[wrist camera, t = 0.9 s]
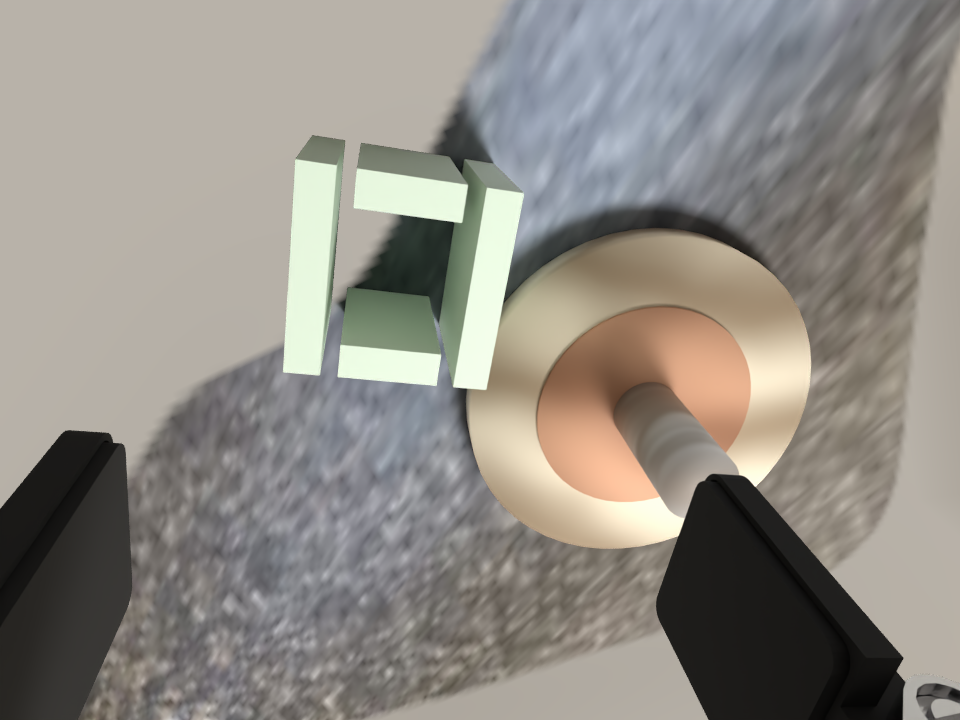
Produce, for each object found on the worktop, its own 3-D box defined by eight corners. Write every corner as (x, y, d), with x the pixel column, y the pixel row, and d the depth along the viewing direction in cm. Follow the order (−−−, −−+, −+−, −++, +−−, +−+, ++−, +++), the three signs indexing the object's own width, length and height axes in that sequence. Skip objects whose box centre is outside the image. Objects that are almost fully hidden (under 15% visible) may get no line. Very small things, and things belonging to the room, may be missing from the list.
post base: (499, 203, 27) (539, 254, 20) (843, 252, 30) (976, 311, 24) (442, 522, 34) (459, 641, 27) (731, 536, 37) (811, 646, 30)
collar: (312, 135, 25) (295, 159, 20) (493, 163, 27) (524, 193, 21) (301, 309, 28) (283, 372, 23) (466, 327, 29) (486, 390, 24)
